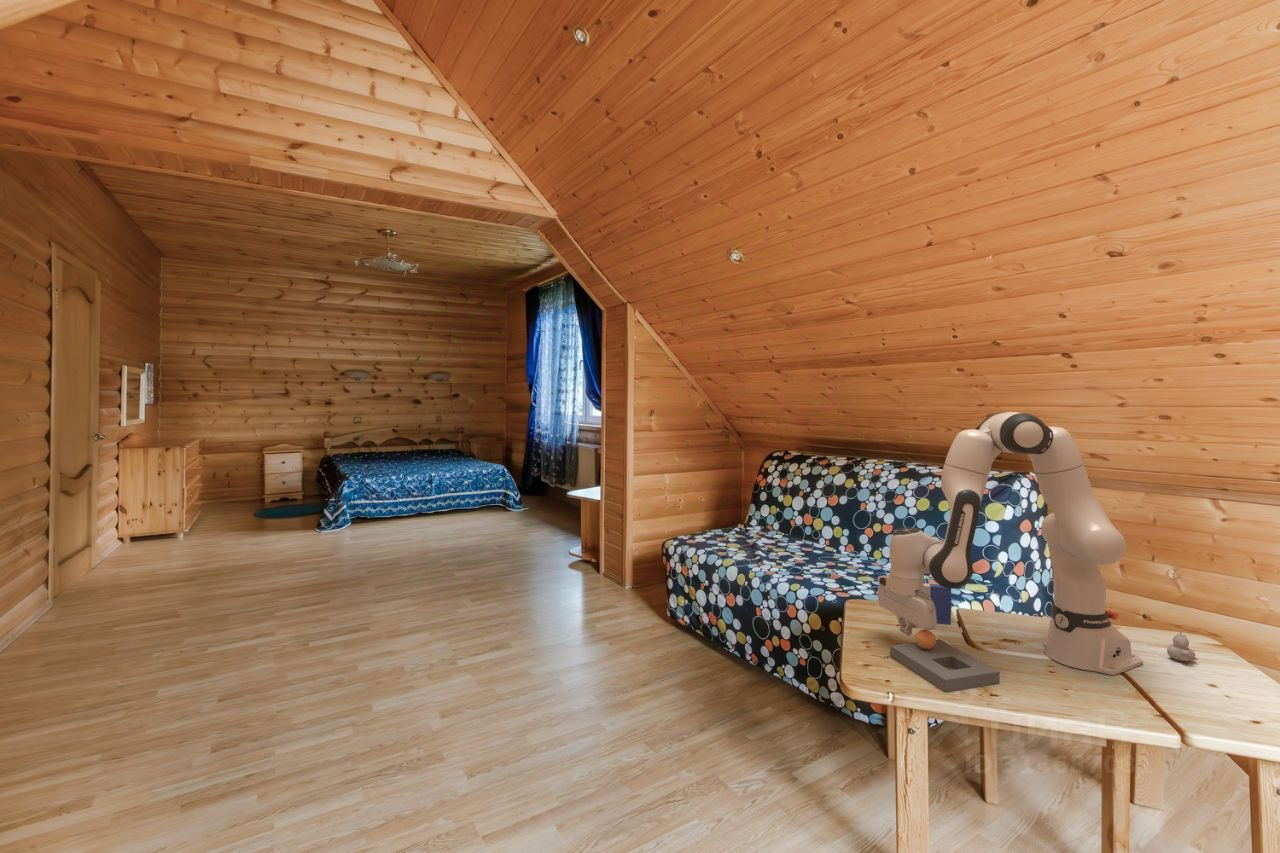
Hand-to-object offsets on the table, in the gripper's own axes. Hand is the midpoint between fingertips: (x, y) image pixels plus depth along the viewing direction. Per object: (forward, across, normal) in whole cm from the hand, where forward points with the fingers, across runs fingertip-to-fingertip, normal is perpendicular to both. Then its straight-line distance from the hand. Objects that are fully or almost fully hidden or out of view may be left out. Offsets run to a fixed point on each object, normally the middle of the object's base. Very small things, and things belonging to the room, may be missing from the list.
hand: (905, 633), depth 163 cm
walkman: (+4, +13, -22) cm, 26 cm away
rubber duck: (+4, -27, -64) cm, 70 cm away
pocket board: (+4, -14, 0) cm, 14 cm away
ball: (-1, -8, 0) cm, 8 cm away
